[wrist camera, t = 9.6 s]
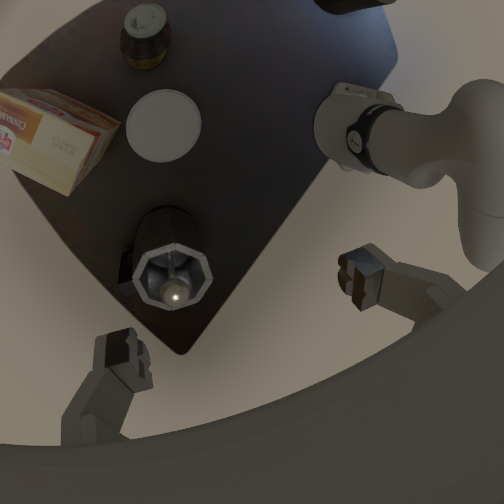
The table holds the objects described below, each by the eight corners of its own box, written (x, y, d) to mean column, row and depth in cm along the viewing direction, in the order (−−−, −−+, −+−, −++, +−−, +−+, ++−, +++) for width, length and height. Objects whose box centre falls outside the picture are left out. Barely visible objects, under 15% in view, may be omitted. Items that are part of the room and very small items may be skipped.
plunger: (183, 220, 44) (195, 270, 33) (195, 257, 49) (212, 313, 37) (139, 235, 43) (137, 289, 31) (155, 271, 47) (160, 329, 36)
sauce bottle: (121, 67, 32) (94, 44, 16) (134, 33, 29) (120, -11, 13) (159, 74, 35) (160, 54, 19) (173, 40, 32) (185, -1, 16)
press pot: (187, 197, 47) (199, 233, 36) (203, 249, 54) (219, 295, 42) (114, 223, 45) (103, 266, 34) (136, 272, 51) (136, 322, 40)
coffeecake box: (122, 121, 37) (97, 136, 21) (101, 159, 39) (68, 200, 23) (51, 87, 29) (-9, 86, 13) (33, 126, 31) (-31, 149, 15)
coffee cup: (159, 81, 35) (159, 74, 26) (203, 114, 41) (217, 119, 31) (122, 127, 37) (110, 137, 28) (166, 158, 43) (169, 177, 33)
